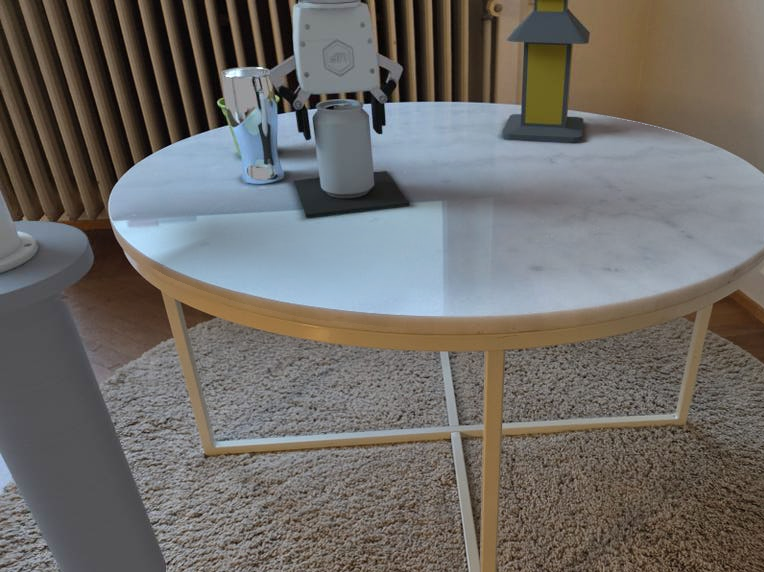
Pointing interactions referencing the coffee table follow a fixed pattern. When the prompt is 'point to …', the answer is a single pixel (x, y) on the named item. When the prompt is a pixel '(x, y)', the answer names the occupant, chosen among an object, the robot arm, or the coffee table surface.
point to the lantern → (547, 74)
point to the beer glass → (253, 122)
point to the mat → (325, 204)
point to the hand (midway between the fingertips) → (343, 134)
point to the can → (343, 148)
